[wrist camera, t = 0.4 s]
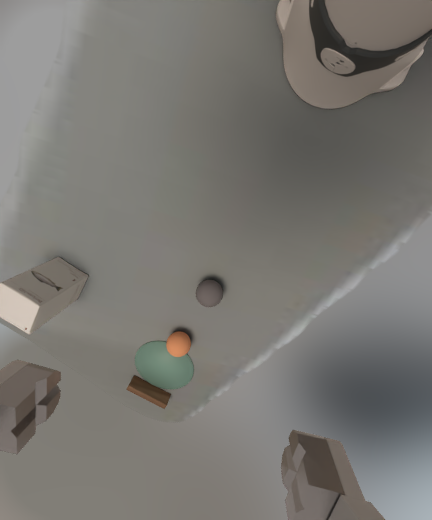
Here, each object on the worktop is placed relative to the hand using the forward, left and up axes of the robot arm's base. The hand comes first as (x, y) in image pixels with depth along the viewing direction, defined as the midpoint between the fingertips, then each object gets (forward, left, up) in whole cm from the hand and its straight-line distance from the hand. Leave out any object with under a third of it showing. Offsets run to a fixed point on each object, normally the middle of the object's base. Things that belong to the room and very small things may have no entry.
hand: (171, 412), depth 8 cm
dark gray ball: (+15, +3, -34) cm, 37 cm away
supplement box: (+29, -24, -37) cm, 53 cm away
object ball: (+29, +3, -34) cm, 44 cm away
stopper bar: (+47, +3, -36) cm, 59 cm away
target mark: (+39, +3, -36) cm, 53 cm away
